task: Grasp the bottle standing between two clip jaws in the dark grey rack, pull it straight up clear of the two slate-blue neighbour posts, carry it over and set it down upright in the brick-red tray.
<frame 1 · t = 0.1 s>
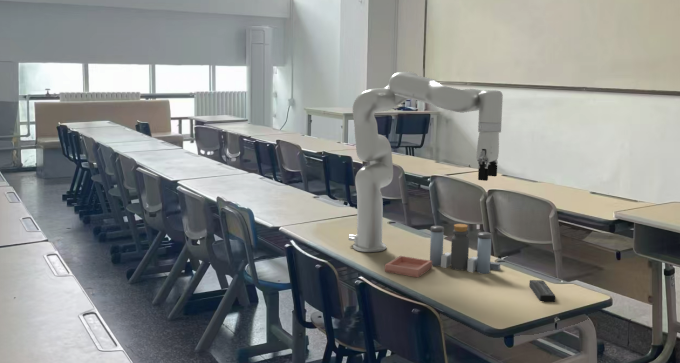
hand: (487, 178, 231), 31 cm above the table, tool pointing down, fingers open, 9 cm apart
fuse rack: (459, 267, 234), on the table
bottle: (459, 268, 234), on the table
multiport hub: (541, 295, 209), on the table
tray: (408, 269, 232), on the table
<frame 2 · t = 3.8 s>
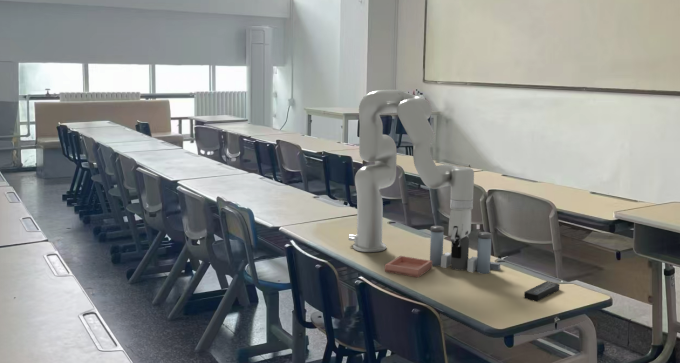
hand: (459, 254, 234), 5 cm above the table, tool pointing down, fingers closed on bottle, 5 cm apart
bottle: (459, 268, 234), on the table, touching gripper
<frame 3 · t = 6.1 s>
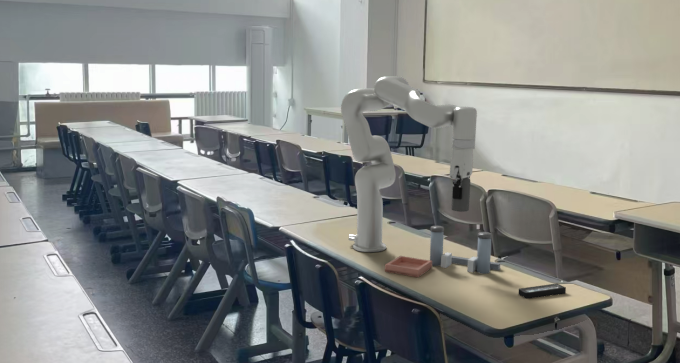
hand: (460, 196, 230), 25 cm above the table, tool pointing down, fingers closed on bottle, 5 cm apart
bottle: (459, 210, 231), point 20 cm above the table, touching gripper
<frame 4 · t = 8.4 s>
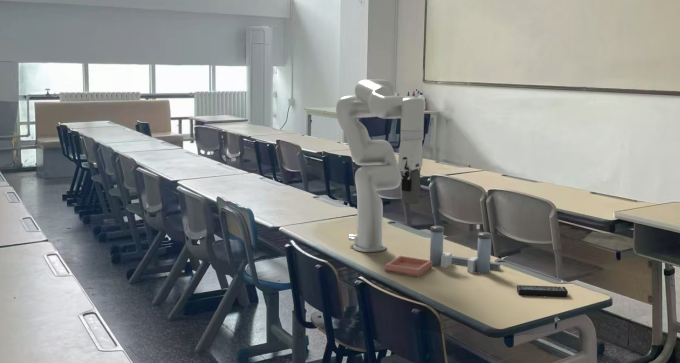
hand: (410, 188, 227), 28 cm above the table, tool pointing down, fingers closed on bottle, 5 cm apart
bottle: (410, 202, 228), point 23 cm above the table, touching gripper
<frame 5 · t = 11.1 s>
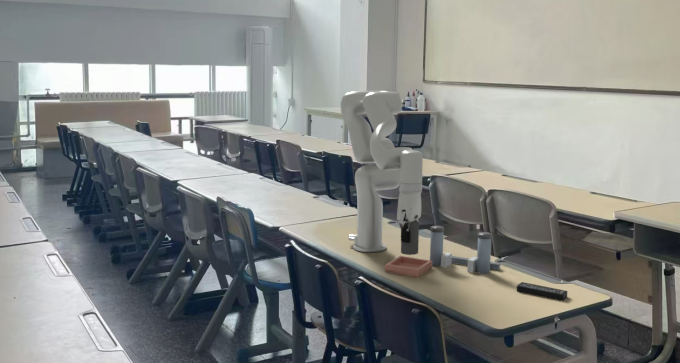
hand: (409, 239, 230), 11 cm above the table, tool pointing down, fingers closed on bottle, 5 cm apart
bottle: (409, 253, 231), point 6 cm above the table, touching gripper
when the fingers open (7 cm above the table, at t = 12.9 s): bottle drops 2 cm, resting on tray.
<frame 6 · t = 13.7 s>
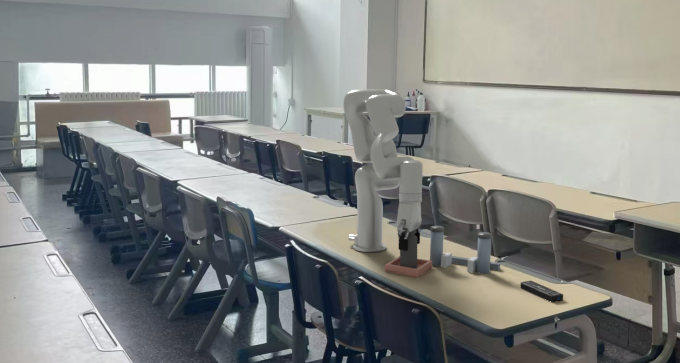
hand: (409, 246, 231), 8 cm above the table, tool pointing down, fingers open, 9 cm apart
bottle: (408, 267, 232), point 1 cm above the table, touching tray
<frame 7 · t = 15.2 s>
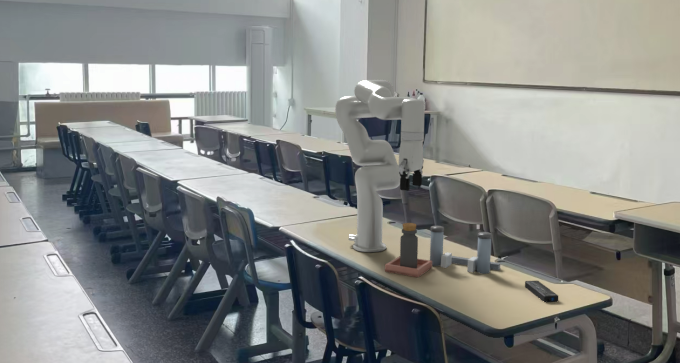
hand: (410, 187, 228), 28 cm above the table, tool pointing down, fingers open, 9 cm apart
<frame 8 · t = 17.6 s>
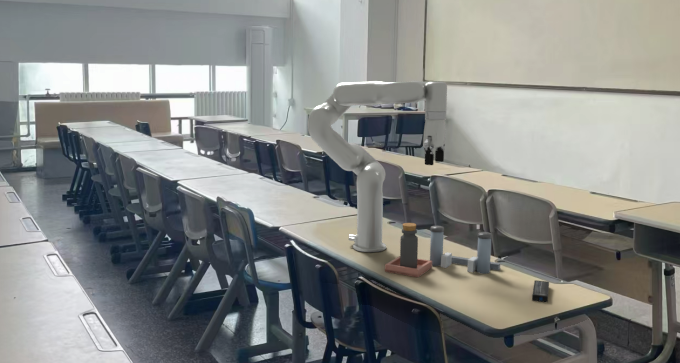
hand: (434, 163, 248), 33 cm above the table, tool pointing down, fingers open, 9 cm apart
at the end: bottle inside the target area on the tray (0.1 cm from its centre), point 0.6 cm above the tray's base; bottle tilted 1°; the gripper is holding nothing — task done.
